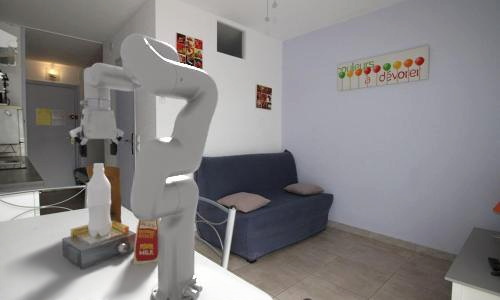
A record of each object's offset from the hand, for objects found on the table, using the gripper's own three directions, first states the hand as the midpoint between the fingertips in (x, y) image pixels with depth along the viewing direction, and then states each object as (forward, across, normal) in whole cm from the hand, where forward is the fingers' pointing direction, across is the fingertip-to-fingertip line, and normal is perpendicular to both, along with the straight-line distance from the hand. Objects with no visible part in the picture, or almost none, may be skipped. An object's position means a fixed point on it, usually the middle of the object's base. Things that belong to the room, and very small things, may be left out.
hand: (99, 155), depth 90 cm
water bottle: (+28, 0, +1) cm, 28 cm away
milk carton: (+35, +9, -15) cm, 39 cm away
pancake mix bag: (+34, +12, +21) cm, 42 cm away
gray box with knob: (+34, 0, 0) cm, 34 cm away
